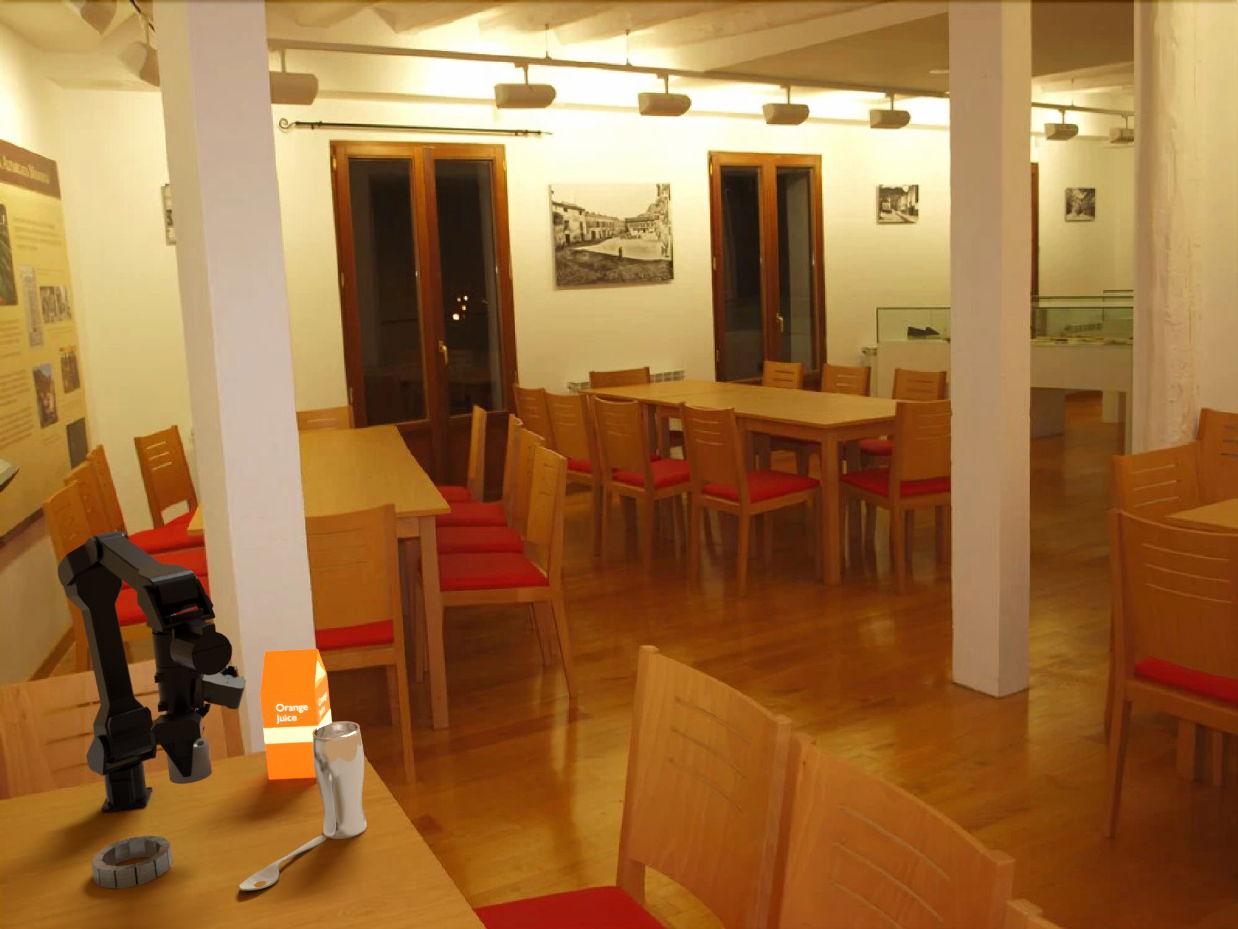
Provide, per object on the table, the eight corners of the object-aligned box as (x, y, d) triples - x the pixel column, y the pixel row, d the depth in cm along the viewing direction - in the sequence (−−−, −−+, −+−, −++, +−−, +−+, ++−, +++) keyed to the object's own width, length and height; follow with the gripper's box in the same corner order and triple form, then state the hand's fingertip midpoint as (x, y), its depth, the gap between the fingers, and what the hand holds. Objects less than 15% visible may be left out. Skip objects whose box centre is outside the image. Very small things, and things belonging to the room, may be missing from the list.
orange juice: (323, 777, 184) (311, 656, 181) (267, 780, 184) (255, 659, 181) (335, 757, 192) (324, 641, 189) (282, 760, 192) (271, 643, 189)
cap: (172, 770, 165) (168, 737, 164) (213, 764, 166) (210, 731, 165) (167, 786, 159) (163, 751, 158) (210, 780, 161) (206, 746, 160)
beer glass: (357, 842, 161) (348, 740, 159) (311, 840, 163) (301, 738, 161) (377, 819, 168) (369, 721, 166) (333, 817, 170) (324, 719, 167)
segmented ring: (103, 859, 160) (100, 842, 160) (176, 848, 162) (174, 831, 162) (87, 893, 151) (85, 875, 151) (165, 881, 153) (163, 863, 153)
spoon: (229, 898, 149) (228, 886, 149) (326, 827, 168) (325, 816, 167) (256, 903, 147) (254, 890, 147) (350, 830, 166) (349, 819, 166)
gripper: (233, 674, 153) (245, 786, 155) (243, 635, 171) (253, 736, 173) (143, 685, 150) (157, 799, 153) (163, 645, 168) (174, 747, 171)
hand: (189, 768), depth 162 cm, fingers closed on cap, 6 cm apart
